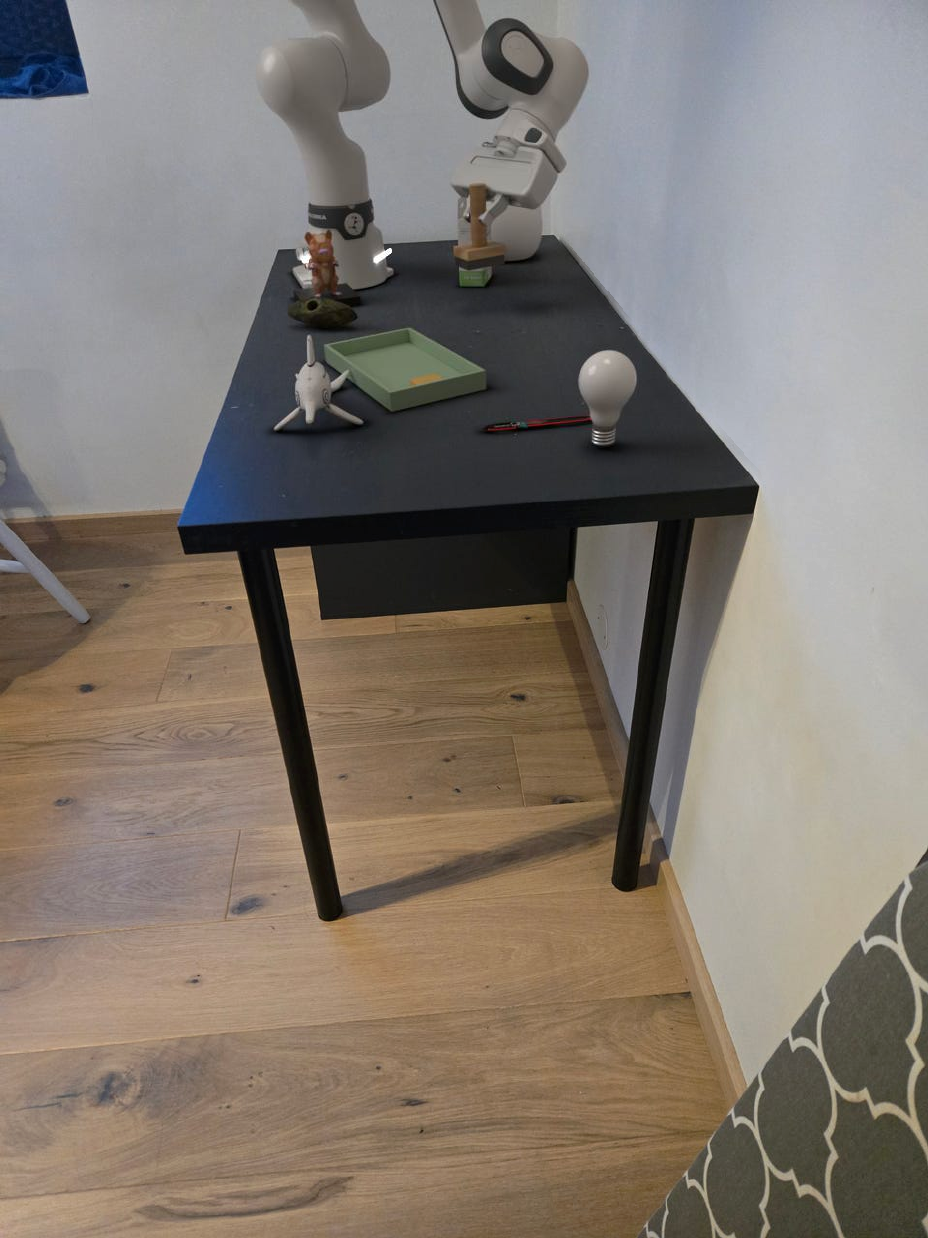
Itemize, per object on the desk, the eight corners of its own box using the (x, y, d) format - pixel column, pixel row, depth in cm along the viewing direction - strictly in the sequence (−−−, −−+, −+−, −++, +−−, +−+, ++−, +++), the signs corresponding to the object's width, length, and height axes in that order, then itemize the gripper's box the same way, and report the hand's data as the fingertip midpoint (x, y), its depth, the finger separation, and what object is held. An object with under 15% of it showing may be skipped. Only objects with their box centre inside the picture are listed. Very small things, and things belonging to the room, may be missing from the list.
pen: (595, 422, 100) (596, 417, 100) (483, 434, 98) (483, 429, 98) (591, 416, 102) (591, 411, 101) (480, 427, 100) (480, 422, 100)
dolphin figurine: (263, 446, 93) (247, 346, 88) (287, 411, 116) (276, 330, 111) (361, 439, 93) (350, 339, 89) (366, 405, 116) (357, 325, 112)
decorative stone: (292, 337, 132) (287, 305, 129) (289, 324, 138) (284, 293, 135) (359, 330, 134) (356, 298, 131) (354, 317, 140) (350, 286, 137)
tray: (325, 361, 122) (323, 344, 121) (411, 344, 127) (409, 327, 126) (391, 412, 106) (389, 392, 104) (486, 388, 111) (486, 370, 109)
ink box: (485, 287, 152) (483, 199, 144) (458, 287, 153) (455, 199, 145) (493, 275, 159) (491, 191, 151) (468, 275, 160) (465, 191, 151)
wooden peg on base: (454, 265, 137) (450, 185, 130) (491, 258, 140) (489, 179, 132) (468, 270, 133) (465, 188, 126) (505, 263, 136) (504, 183, 129)
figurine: (304, 312, 143) (293, 238, 136) (294, 298, 151) (283, 227, 144) (360, 304, 146) (352, 232, 139) (347, 291, 154) (339, 221, 147)
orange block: (409, 387, 111) (409, 379, 110) (435, 381, 112) (435, 373, 111) (423, 396, 108) (422, 388, 107) (449, 390, 109) (449, 381, 109)
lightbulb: (570, 436, 97) (574, 344, 91) (623, 433, 98) (630, 340, 91) (581, 460, 92) (586, 363, 86) (636, 456, 92) (645, 359, 86)
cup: (543, 264, 165) (545, 189, 157) (478, 266, 165) (476, 192, 157) (539, 249, 176) (540, 178, 168) (478, 251, 176) (476, 181, 168)
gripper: (469, 127, 136) (425, 201, 137) (554, 134, 122) (505, 216, 123) (490, 155, 140) (448, 226, 141) (574, 165, 127) (527, 243, 128)
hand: (475, 222), depth 132 cm, fingers closed on wooden peg on base, 2 cm apart
